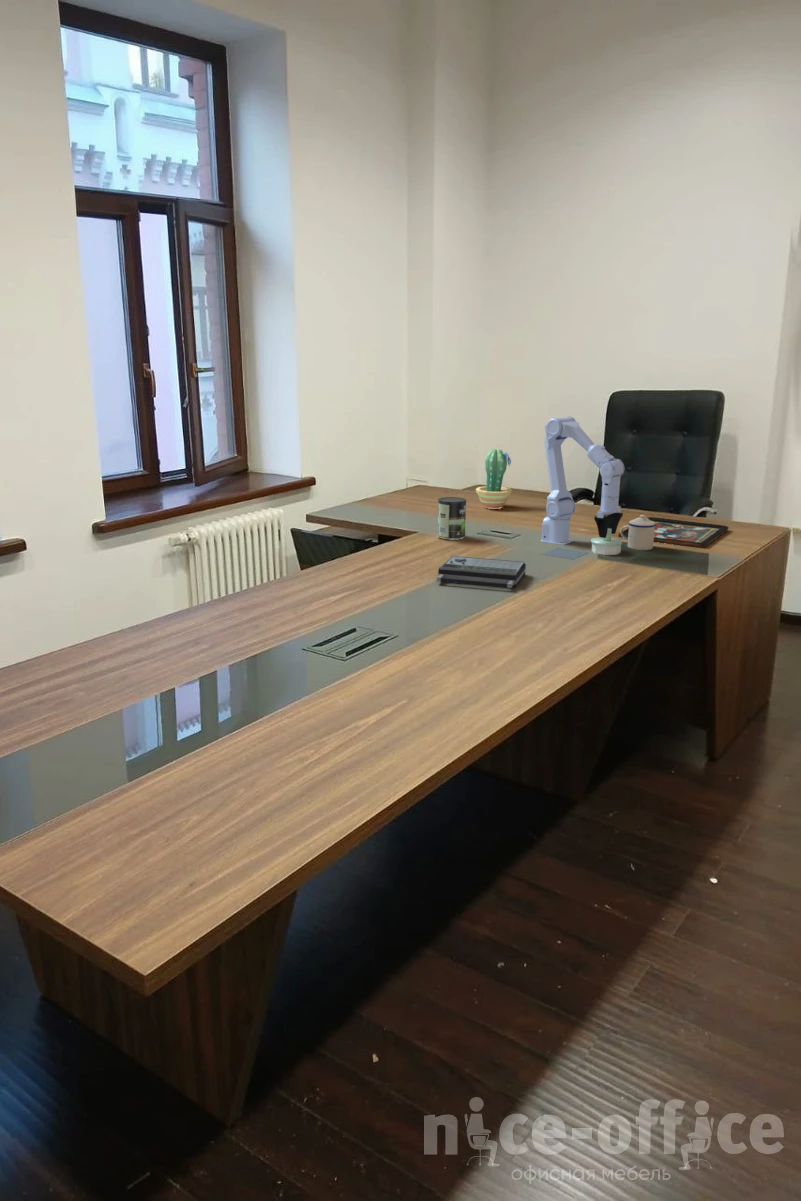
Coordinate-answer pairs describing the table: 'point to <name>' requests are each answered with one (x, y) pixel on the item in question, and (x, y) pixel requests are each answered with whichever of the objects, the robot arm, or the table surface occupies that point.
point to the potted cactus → (495, 480)
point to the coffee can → (451, 517)
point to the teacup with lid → (640, 533)
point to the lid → (606, 540)
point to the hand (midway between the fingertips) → (607, 535)
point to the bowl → (606, 549)
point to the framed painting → (684, 532)
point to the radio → (482, 571)
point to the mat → (565, 553)
